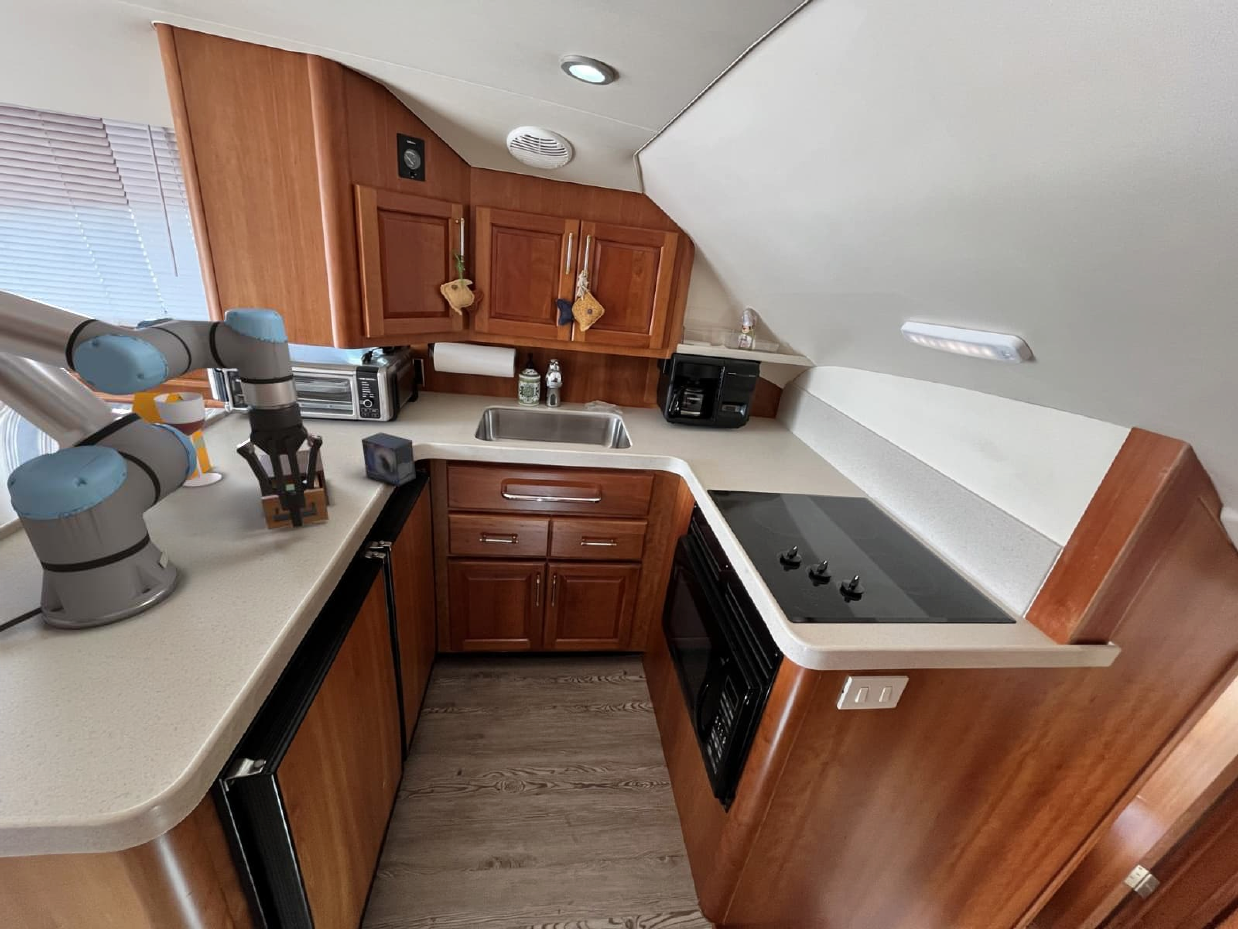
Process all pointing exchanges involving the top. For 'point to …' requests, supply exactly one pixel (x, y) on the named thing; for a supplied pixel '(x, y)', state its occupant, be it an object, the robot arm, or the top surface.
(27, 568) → the top surface
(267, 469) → the cabinet
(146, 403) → the orange juice
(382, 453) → the small box
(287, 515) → the drawer
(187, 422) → the wineglass
